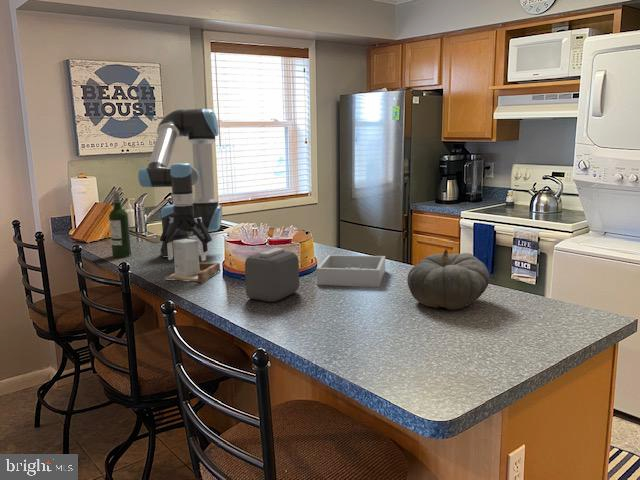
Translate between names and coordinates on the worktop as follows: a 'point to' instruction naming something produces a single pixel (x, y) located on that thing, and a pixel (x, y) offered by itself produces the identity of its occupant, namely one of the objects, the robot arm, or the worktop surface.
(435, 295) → the gourd
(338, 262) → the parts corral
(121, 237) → the wine bottle
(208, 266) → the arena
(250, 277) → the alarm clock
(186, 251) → the small box
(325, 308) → the worktop surface
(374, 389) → the worktop surface
